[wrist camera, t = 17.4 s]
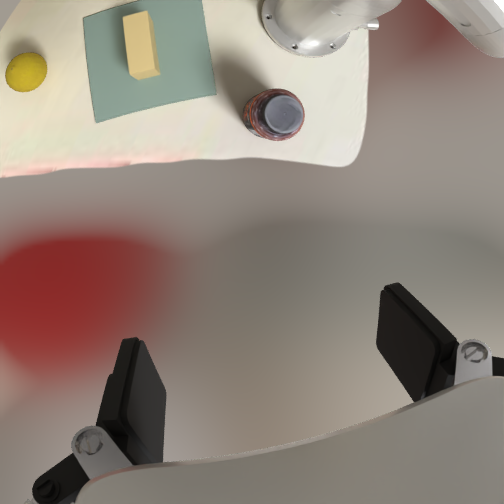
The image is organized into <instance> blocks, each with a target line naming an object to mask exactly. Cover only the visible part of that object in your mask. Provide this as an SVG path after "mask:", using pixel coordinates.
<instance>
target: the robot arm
mask: <svg viewBox="0 0 504 504" xmlns="http://www.w3.org/2000/svg"><path fill="white" fill-rule="evenodd" d="M401 1H402V0H264V3H263V5H262V12H261V15H262V22H263V24H264V27H265V29H266V31H267V33H268V34H269V36H270V37H271V38H272V39H273V40H274V42H276V43H277V44H278V45H279V46H280V47H282V48H283V49H285V50H287V51H288V52H291V53H293V54H296V55H299V56H303V57H313V58H315V57H323V56H326V55H329V54H331V53H333V52H335V51H337V50H338V49H340V48H341V47H342V46H343V45H344V44H345V42H346V41H347V39H348V37H349V34H350V31H351V30H358V29H359V28H364V29H371V30H377V29H378V27H379V22H378V20H377V19H376V17H378V16H380V15H382V14H384V13H386V12H388V11H390V10H392V9H393V8H395V7H396V6H397V5H398V4H399V3H400V2H401ZM426 1H427V2H428V3H430V4H431V5H432V6H433V7H434V8H435V9H437V10H438V11H439V12H440V13H441V14H442V15H443V16H444V17H445V18H446V19H447V20H448V21H449V22H450V23H451V24H452V25H453V26H455V28H457V30H458V31H459V32H460V33H462V34H463V36H464V37H465V38H466V39H468V40H469V41H470V42H471V43H472V44H473V45H474V46H475V47H476V48H478V49H479V50H481V51H482V52H484V53H486V54H488V55H490V56H493V57H498V58H504V0H426ZM266 17H269V19H267V18H266ZM330 46H332V48H331V47H330ZM292 47H295V49H293V48H292ZM456 340H457V339H456V338H455V337H454V336H453V335H452V334H451V333H450V331H448V329H446V327H445V326H444V325H443V324H442V323H440V321H439V320H438V319H437V318H435V317H434V316H433V315H432V314H431V313H430V312H429V311H428V310H427V309H426V308H425V307H424V306H423V305H422V304H421V303H420V302H419V301H418V300H417V299H416V298H415V297H414V296H413V295H412V294H411V293H410V292H408V291H407V290H406V289H405V288H404V287H403V286H402V285H401V284H400V283H393V284H390V285H386V286H385V287H384V290H382V291H381V295H380V307H379V319H378V329H377V339H376V345H377V348H378V350H379V351H380V353H381V354H382V356H383V357H384V359H385V360H386V362H387V363H388V364H389V366H390V367H391V369H392V370H393V371H394V373H395V375H396V376H397V377H398V379H399V380H400V382H401V383H402V385H403V386H404V388H405V389H406V391H407V392H408V394H409V395H410V397H411V398H412V400H413V401H414V403H412V404H409V405H407V406H404V407H402V408H400V409H397V410H394V411H392V412H389V413H386V414H384V415H381V416H378V417H376V418H373V419H370V420H367V421H364V422H362V423H358V424H355V425H352V426H349V427H346V428H343V429H340V430H336V431H333V432H330V433H326V434H323V435H319V436H315V437H312V438H308V439H304V440H300V441H296V442H292V443H288V444H283V445H279V446H275V447H269V448H265V449H260V450H254V451H249V452H243V453H237V454H231V455H225V456H218V457H210V458H202V459H194V460H185V461H175V462H163V445H164V425H165V408H166V390H165V387H164V385H163V383H162V381H161V379H160V377H159V374H158V372H157V370H156V368H155V366H154V363H153V361H152V359H151V357H150V354H149V352H148V350H147V347H146V345H145V343H144V341H142V340H140V341H139V339H138V338H137V337H134V338H128V339H123V340H122V343H121V346H120V350H119V353H118V356H117V360H116V364H115V367H114V371H113V374H110V375H109V377H108V379H107V383H106V387H105V391H104V394H103V398H102V402H101V406H100V410H99V414H98V418H97V422H96V426H88V427H85V428H83V429H81V430H80V431H78V432H77V433H76V434H75V436H74V437H73V440H72V443H71V448H72V451H73V453H72V454H71V455H69V456H68V457H66V458H65V459H64V460H62V461H61V462H60V463H58V464H57V465H55V466H54V467H52V468H51V469H50V470H49V471H47V472H46V473H44V474H43V475H41V476H40V477H39V478H38V479H37V480H36V481H35V483H34V485H33V488H32V492H33V497H34V498H33V499H32V500H31V501H30V500H29V499H27V501H26V502H25V503H24V504H504V358H499V357H493V356H492V353H491V350H490V348H489V346H488V345H486V344H485V343H483V342H481V341H479V340H475V339H469V340H465V341H463V342H462V343H460V344H459V343H458V342H457V341H456Z"/></svg>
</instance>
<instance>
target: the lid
mask: <svg viewBox="0 0 504 504" xmlns="http://www.w3.org/2000/svg"><path fill="white" fill-rule="evenodd" d="M83 20H84V34H85V46H86V56H87V65H88V73H89V81H90V88H91V95H92V102H93V108H94V114H95V120H96V123H99V122H102V121H106V120H109V119H112V118H116V117H119V116H123V115H126V114H130V113H134V112H138V111H141V110H145V109H149V108H153V107H158V106H162V105H166V104H171V103H175V102H180V101H185V100H190V99H195V98H201V97H206V96H212V95H217V94H216V88H215V82H214V75H213V69H212V63H211V57H210V50H209V44H208V38H207V31H206V25H205V18H204V12H203V5H202V0H140V1H136V2H132V3H129V4H125V5H122V6H118V7H115V8H112V9H109V10H105V11H102V12H99V13H97V14H94V15H91V16H88V17H85V18H83Z"/></svg>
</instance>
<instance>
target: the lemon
mask: <svg viewBox="0 0 504 504" xmlns="http://www.w3.org/2000/svg"><path fill="white" fill-rule="evenodd" d="M46 74H47V64H46V61H45V60H44V58H43V57H41V56H40V55H39V54H36V53H32V52H30V53H22V54H20V55H18V56H16V57H15V58H14V59H12V60H11V62H10V63H9V65H8V67H7V69H6V74H5V78H6V82H7V84H8V85H9V87H11V88H12V89H14V90H15V91H19V92H29V91H32V90H34V89H36V88H37V87H39V86H40V85H41V83H42V82H43V81H44V79H45V77H46Z"/></svg>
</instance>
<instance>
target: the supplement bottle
mask: <svg viewBox="0 0 504 504" xmlns="http://www.w3.org/2000/svg"><path fill="white" fill-rule="evenodd" d="M304 117H305V114H304V108H303V105H302V103H301V102H300V100H299V99H298V98H297V97H296V96H295V95H294V94H293V93H291V92H289V91H287V90H284V89H270V90H267V91H264V92H262V93H260V94H258V95H256V96H254V97H253V98H251V99H250V100H249V101H248V103H247V104H246V106H245V108H244V111H243V120H244V123H245V126H246V127H247V128H248V130H249V131H250V132H252V133H253V134H254V135H256V136H259V137H262V138H266V139H270V140H274V141H282V140H287V139H289V138H291V137H293V136H294V135H296V134H297V133H298V132H299V130H300V129H301V127H302V125H303V122H304Z"/></svg>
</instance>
